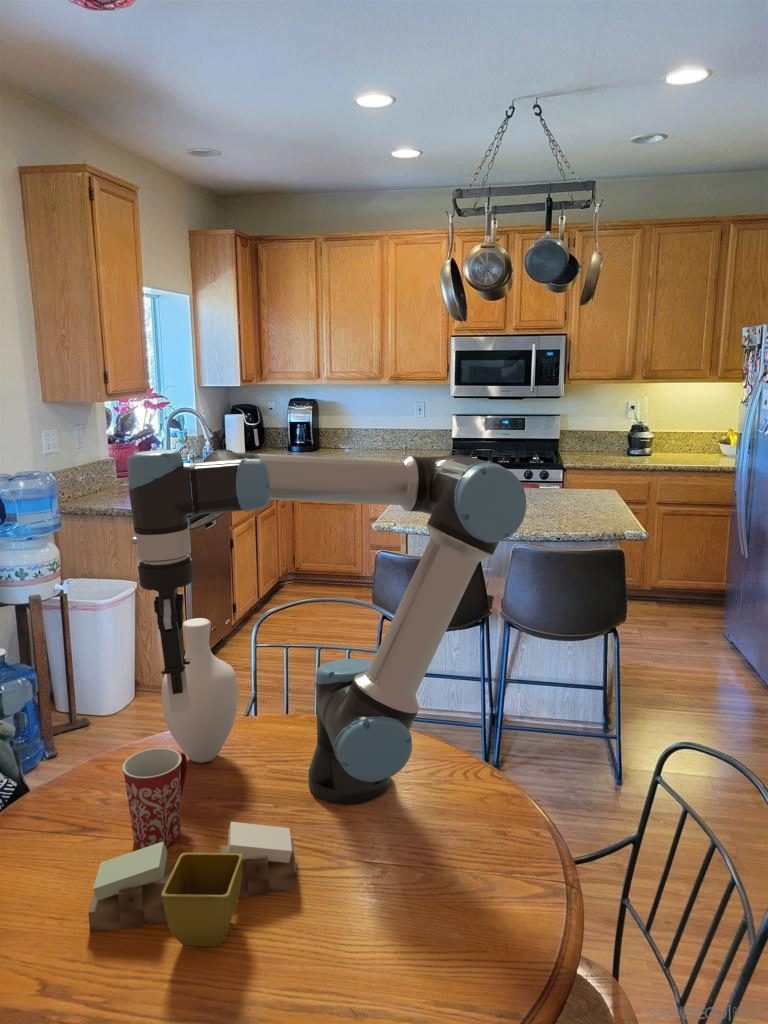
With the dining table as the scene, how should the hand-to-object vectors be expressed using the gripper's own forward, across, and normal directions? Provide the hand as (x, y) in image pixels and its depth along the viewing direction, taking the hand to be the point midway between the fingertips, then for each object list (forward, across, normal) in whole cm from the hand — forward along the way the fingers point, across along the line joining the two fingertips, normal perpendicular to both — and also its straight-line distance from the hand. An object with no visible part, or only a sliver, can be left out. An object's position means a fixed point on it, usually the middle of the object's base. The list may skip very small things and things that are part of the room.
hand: (180, 709), depth 109 cm
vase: (+25, -30, +1) cm, 39 cm away
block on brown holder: (+25, +8, +9) cm, 27 cm away
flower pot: (+25, +17, +2) cm, 30 cm away
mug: (+24, -7, -5) cm, 26 cm away
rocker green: (+20, +10, -8) cm, 23 cm away
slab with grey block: (+24, +10, -8) cm, 27 cm away
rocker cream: (+21, +8, +10) cm, 24 cm away
